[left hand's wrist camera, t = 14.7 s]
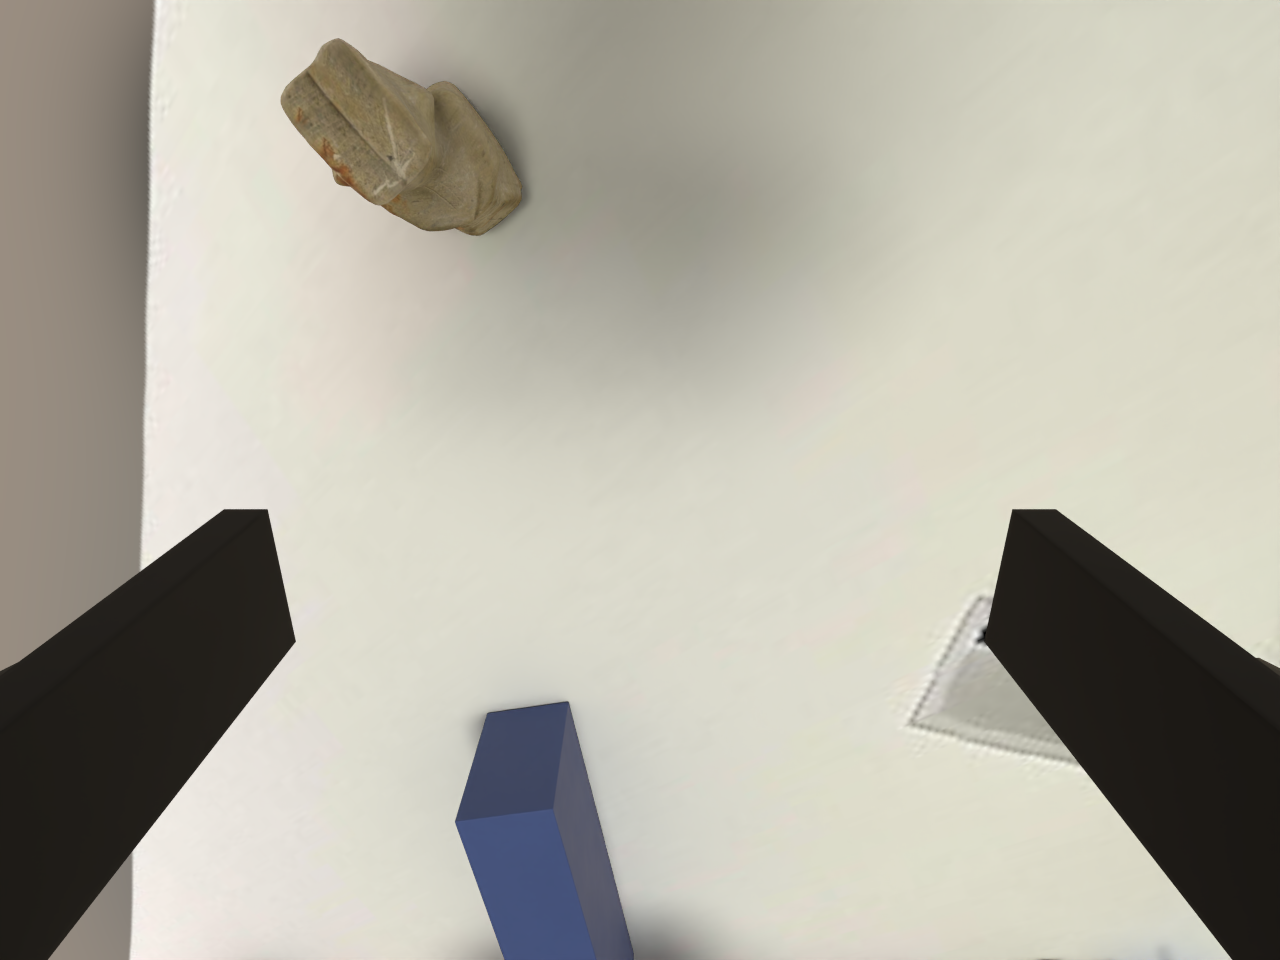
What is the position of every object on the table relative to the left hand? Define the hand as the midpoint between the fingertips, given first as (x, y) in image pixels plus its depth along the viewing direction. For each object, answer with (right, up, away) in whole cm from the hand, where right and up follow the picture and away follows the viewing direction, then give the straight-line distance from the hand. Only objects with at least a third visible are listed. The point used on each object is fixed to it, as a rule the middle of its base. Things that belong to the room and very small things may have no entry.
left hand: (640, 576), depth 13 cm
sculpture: (-10, +19, +26) cm, 34 cm away
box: (-6, -28, +45) cm, 53 cm away
